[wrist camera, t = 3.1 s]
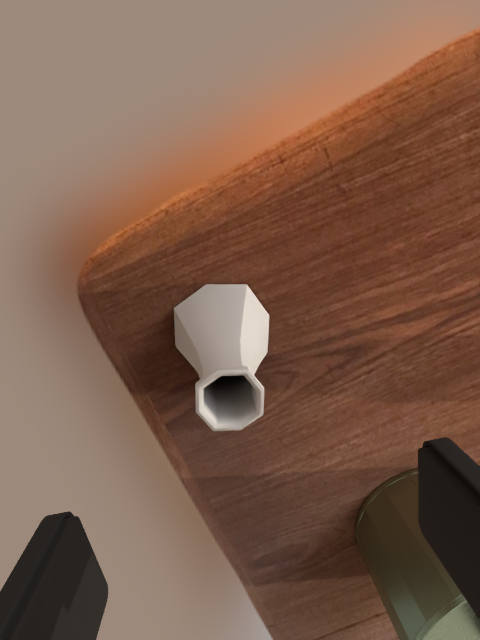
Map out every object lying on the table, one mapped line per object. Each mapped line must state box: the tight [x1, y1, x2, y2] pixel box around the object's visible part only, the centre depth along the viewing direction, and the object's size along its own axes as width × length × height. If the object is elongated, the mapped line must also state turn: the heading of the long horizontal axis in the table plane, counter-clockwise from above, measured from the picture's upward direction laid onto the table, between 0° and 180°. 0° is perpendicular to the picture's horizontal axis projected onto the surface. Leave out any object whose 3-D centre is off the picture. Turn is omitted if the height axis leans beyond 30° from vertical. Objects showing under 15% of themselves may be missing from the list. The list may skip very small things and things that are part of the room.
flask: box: [174, 284, 269, 431], centre depth 19 cm, size 7×7×10 cm
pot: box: [355, 468, 461, 640], centre depth 27 cm, size 13×13×10 cm
